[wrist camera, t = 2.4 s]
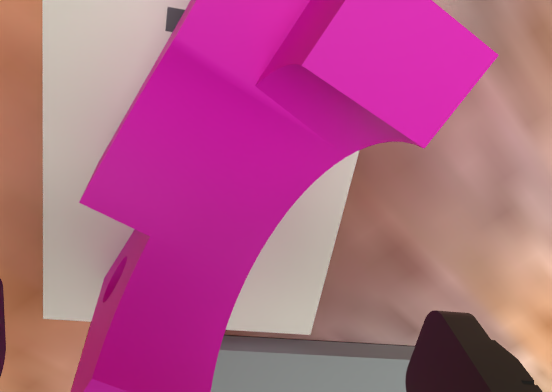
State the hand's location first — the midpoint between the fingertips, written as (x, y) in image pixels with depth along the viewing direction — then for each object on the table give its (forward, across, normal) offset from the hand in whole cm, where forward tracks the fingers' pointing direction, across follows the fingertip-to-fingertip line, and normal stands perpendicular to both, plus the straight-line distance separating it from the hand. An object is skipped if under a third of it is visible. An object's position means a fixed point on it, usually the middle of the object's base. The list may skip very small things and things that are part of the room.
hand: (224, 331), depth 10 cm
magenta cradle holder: (+11, 0, 0) cm, 11 cm away
